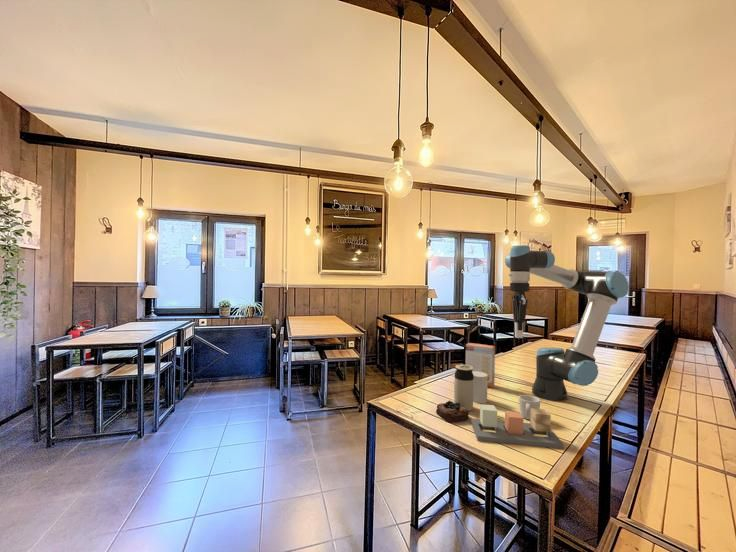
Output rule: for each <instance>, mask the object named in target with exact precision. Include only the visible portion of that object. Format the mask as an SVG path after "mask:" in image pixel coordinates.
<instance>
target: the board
mask: <svg viewBox="0 0 736 552" xmlns="http://www.w3.org/2000/svg"><path fill="white" fill-rule="evenodd" d="M470 424H471V426H472V429H473V432H474V434H475V438H476V441H477V442H479V441H480V442H489V443H490V442H491V443H497V444H498V443H499V444H500V443H501V444H502V443H503V444H510V445H511V444H512V445H522V446H531V447H532V446H533V447H541V448H542V447H544V448H552V449H553V448H554V449H564V443H563V441H562V440H561V439H560V438H559V437H558V435H557V434H556V433H555V432H554V431H553V430H552V429H551V428H550V432H544V431H535V430H534V428H533V427H532V426H531V424H530V422H523V435H520V434H508V432H507V430H506V428H505V420H497V427H486V426H482V424H481V422H480V418H470ZM482 429H487V430H488V429H490V430H491V429H492V430H494V431H484V430H482ZM534 433H535V434H545V435H546V436H541V435H534Z"/></svg>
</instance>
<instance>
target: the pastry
mask: <svg viewBox="0 0 736 552" xmlns="http://www.w3.org/2000/svg"><path fill="white" fill-rule="evenodd" d="M436 408H437V409H436V411H435V413H436V414H437V416H439V417H440V418H441V419H443V421H445V422H446V423H449V424H450V423H451V424H452V423H453V422H454V423H460V422H465V421H467V420H468V421H469V418H470V414H469V411H468V409H466V408H463V407H462V406H460V403H459V402H457V403H456V402H454V401H452V400H448V401H446V402H445V403H442V402H441V403H438V404H437V406H436ZM454 423H453V424H454Z"/></svg>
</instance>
